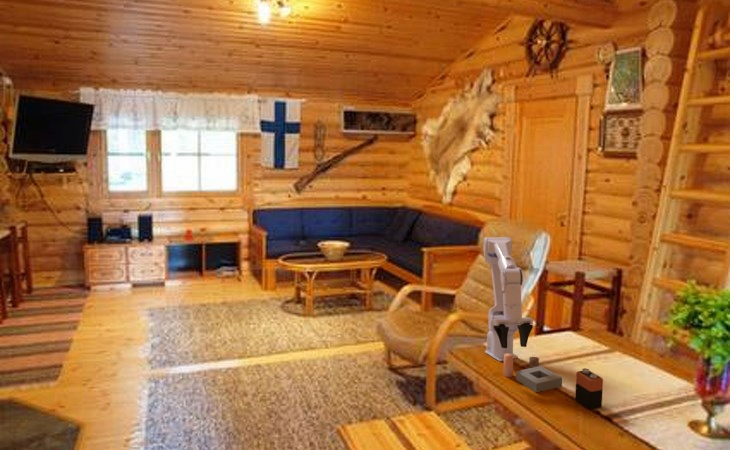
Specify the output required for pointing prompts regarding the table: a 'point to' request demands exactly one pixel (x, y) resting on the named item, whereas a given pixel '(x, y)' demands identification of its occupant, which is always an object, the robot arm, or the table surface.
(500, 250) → the robot arm
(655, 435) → the table surface
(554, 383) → the hole block
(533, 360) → the short peg
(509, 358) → the long peg
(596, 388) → the battery
